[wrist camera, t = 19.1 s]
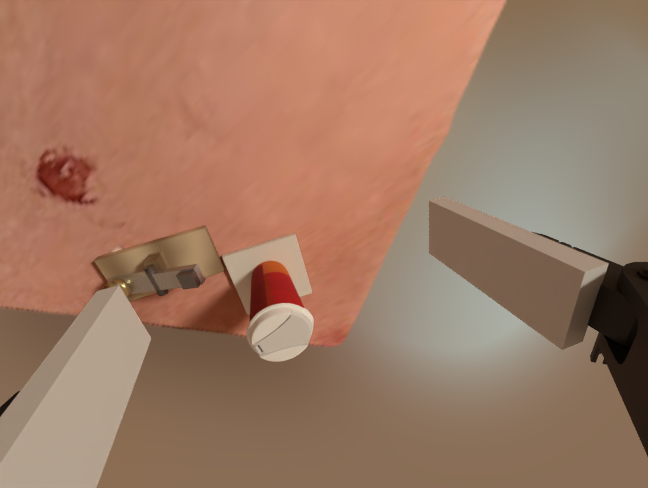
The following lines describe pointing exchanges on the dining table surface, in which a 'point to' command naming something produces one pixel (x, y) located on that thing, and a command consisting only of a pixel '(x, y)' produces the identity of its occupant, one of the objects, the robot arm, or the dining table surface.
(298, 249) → the tile
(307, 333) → the paper cup
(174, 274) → the lever
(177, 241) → the lever base
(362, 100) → the dining table surface
